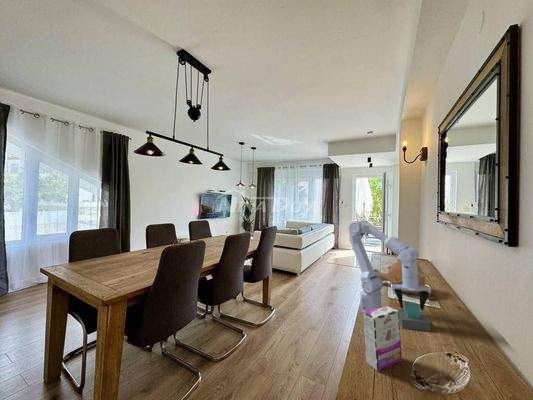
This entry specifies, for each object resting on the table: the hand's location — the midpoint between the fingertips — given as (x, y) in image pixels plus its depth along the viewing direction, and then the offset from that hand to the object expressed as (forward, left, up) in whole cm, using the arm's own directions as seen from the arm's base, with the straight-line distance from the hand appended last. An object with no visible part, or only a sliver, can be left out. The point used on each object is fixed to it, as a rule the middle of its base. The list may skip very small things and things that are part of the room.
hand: (411, 308), depth 99 cm
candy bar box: (-16, -30, -7) cm, 35 cm away
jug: (+5, +45, -7) cm, 45 cm away
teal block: (0, 0, -3) cm, 3 cm away
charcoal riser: (0, 0, -7) cm, 7 cm away
